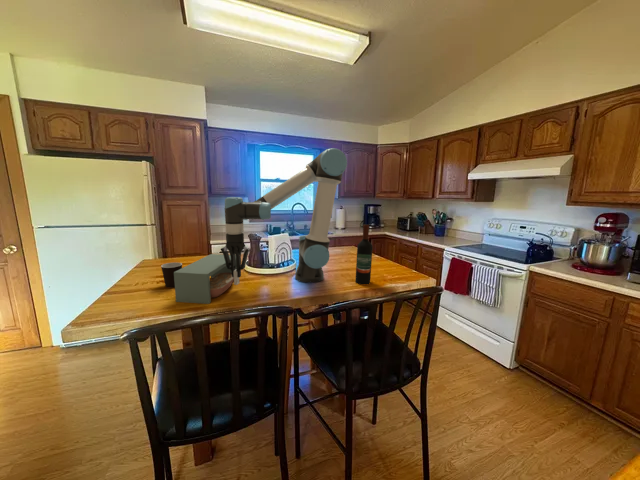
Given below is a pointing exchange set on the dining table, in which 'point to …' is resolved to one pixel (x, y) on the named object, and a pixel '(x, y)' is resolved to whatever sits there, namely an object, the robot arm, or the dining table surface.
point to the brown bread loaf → (220, 283)
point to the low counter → (198, 279)
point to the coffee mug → (170, 273)
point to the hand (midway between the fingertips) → (236, 283)
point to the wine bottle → (364, 258)
